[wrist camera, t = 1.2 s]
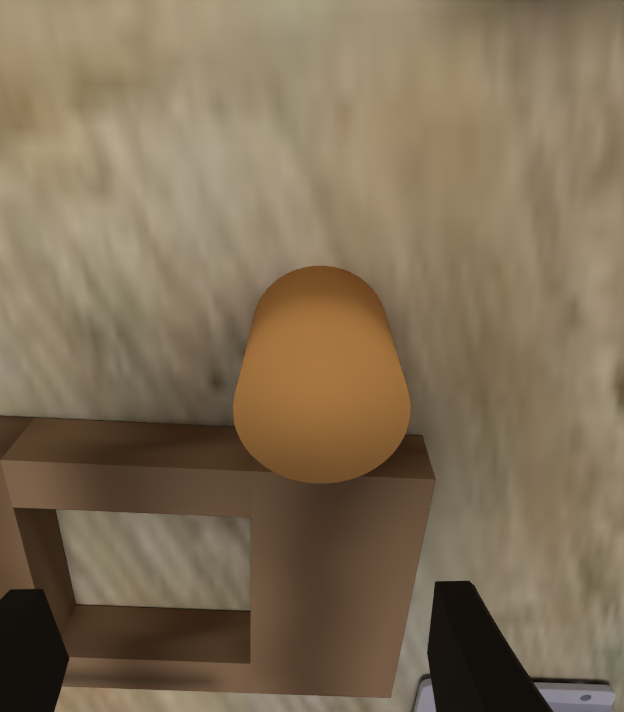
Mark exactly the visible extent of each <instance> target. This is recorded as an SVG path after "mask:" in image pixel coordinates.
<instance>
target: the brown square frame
mask: <svg viewBox="0 0 624 712" xmlns="http://www.w3.org/2000/svg"><path fill="white" fill-rule="evenodd" d="M435 480H436V479H435V476H434V473H433V469H432V466H431V463H430V459H429V456H428V453H427V449H426V446H425V443H424V439H423V436H417V435H405V436H404V438H403V440H402V441H401V443H400V445H399V446H398V448H397V449H396V450H395V451H394V453H393V454H392V455H391V456H390V457H389V458H388V459H387V460H386V461H385V462H383V463H382V464H381V465H379V466H378V467H376V468H375V469H373V470H371V471H370V472H368V473H366V474H364V475H361V476H359V477H356V478H353V479H350V480H346V481H342V482H336V483H326V484H316V483H306V482H301V481H296V480H292V479H289V478H286V477H283V476H281V475H279V474H277V473H275V472H273V471H271V470H269V469H268V468H266V467H265V466H263V465H262V464H261V463H259V462H258V461H257V460H256V459H255V458H254V457H253V456H252V455H251V454H250V453H249V452H248V450H247V449H246V448H245V446H244V445H243V443H242V441H241V440H240V438H239V435H238V433H237V431H236V427H224V426H202V425H181V424H160V423H138V422H117V421H95V420H74V419H52V418H31V417H9V416H0V599H1V598H2V597H3V596H4V595H5V594H6V593H7V592H8V591H9V590H10V589H43V590H44V593H45V595H46V598H47V601H48V603H49V606H50V608H51V611H52V614H53V616H54V619H55V622H56V624H57V627H58V630H59V632H60V635H61V638H62V640H63V643H64V645H65V648H66V651H67V653H68V656H69V662H68V666H67V669H66V673H65V676H64V680H63V683H62V686H65V687H93V688H122V689H150V690H178V691H206V692H235V693H263V694H291V695H319V696H348V697H376V698H391V694H392V689H393V684H394V679H395V674H396V669H397V665H398V660H399V655H400V650H401V645H402V640H403V635H404V631H405V626H406V621H407V616H408V611H409V606H410V601H411V596H412V592H413V587H414V582H415V577H416V572H417V567H418V562H419V558H420V553H421V548H422V543H423V538H424V533H425V528H426V524H427V519H428V514H429V509H430V504H431V499H432V494H433V489H434V485H435ZM55 509H63V510H87V511H110V512H133V513H157V514H180V515H203V516H227V517H250V518H251V612H243V611H218V610H192V609H166V608H140V607H115V606H89V605H76V604H75V600H74V595H73V591H72V586H71V581H70V577H69V572H68V568H67V563H66V559H65V554H64V549H63V545H62V540H61V536H60V531H59V527H58V522H57V517H56V513H55Z"/></svg>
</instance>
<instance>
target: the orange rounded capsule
mask: <svg viewBox="0 0 624 712" xmlns="http://www.w3.org/2000/svg"><path fill="white" fill-rule="evenodd" d="M410 411H411V407H410V397H409V393H408V389H407V385H406V382H405V379H404V375H403V372H402V369H401V365H400V362H399V358H398V355H397V352H396V348H395V345H394V342H393V338H392V335H391V332H390V328H389V325H388V322H387V318H386V315H385V311H384V308H383V306H382V303H381V301H380V300H379V298H378V296H377V294H376V293H375V292H374V291H373V289H372V288H371V287H370V286H369V285H368V284H367V283H366V282H365V281H363V280H362V279H361V278H359V277H358V276H356V275H354V274H352V273H350V272H348V271H345V270H343V269H339V268H335V267H328V266H312V267H305V268H301V269H298V270H295V271H292V272H290V273H288V274H286V275H284V276H283V277H281V278H279V279H278V280H277V281H275V282H274V283H273V284H272V285H271V286H270V287H269V288H268V289H267V290H266V292H265V293H264V294H263V296H262V297H261V299H260V301H259V303H258V305H257V308H256V310H255V314H254V318H253V322H252V326H251V330H250V334H249V338H248V342H247V347H246V351H245V355H244V359H243V363H242V367H241V371H240V375H239V379H238V383H237V387H236V391H235V396H234V400H233V418H234V423H235V427H236V431H237V433H238V435H239V438H240V440H241V441H242V443H243V445H244V446H245V448H246V449H247V450H248V452H249V453H250V454H251V455H252V456H253V457H254V458H255V459H256V460H257V461H258V462H259V463H261V464H262V465H263V466H265V467H266V468H268V469H269V470H271V471H273V472H275V473H277V474H279V475H281V476H283V477H286V478H289V479H292V480H296V481H301V482H306V483H316V484H326V483H336V482H342V481H346V480H350V479H353V478H356V477H359V476H361V475H364V474H366V473H368V472H370V471H371V470H373V469H375V468H376V467H378V466H379V465H381V464H382V463H383V462H385V461H386V460H387V459H388V458H389V457H390V456H391V455H392V454H393V453H394V451H395V450H396V449H397V448H398V446H399V445H400V443H401V441H402V440H403V438H404V436H405V433H406V431H407V428H408V424H409V420H410Z"/></svg>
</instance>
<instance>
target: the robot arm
mask: <svg viewBox="0 0 624 712" xmlns="http://www.w3.org/2000/svg"><path fill="white" fill-rule="evenodd" d="M427 654H428V661H429V668H430V675H431V678H430V679H425V680H423V681H422V682H421V683H420V686H419V690H418V694H417V698H416V702H415V706H414V711H413V712H615V711H614V709H613V707H612V704H613V702H614V700H615V698H616V694H615V692H614V690H613V688H612V687H611V686H609V685H599V684H572V683H544V682H533V681H532V680H531V678H530V677H529V675H528V674H527V672H526V671H525V669H524V668H523V666H522V665H521V663H520V662H519V660H518V658H517V657H516V655H515V654H514V652H513V651H512V649H511V647H510V646H509V644H508V643H507V641H506V639H505V638H504V636H503V635H502V633H501V631H500V630H499V628H498V626H497V625H496V623H495V621H494V620H493V618H492V616H491V615H490V613H489V611H488V609H487V608H486V606H485V604H484V602H483V601H482V599H481V597H480V595H479V593H478V592H477V590H476V588H475V586H474V585H473V584H472V583H471V582H470V581H437V582H435V588H434V597H433V606H432V615H431V624H430V633H429V642H428V651H427ZM68 662H69V656H68V653H67V651H66V648H65V645H64V643H63V640H62V638H61V635H60V632H59V630H58V627H57V624H56V622H55V619H54V616H53V614H52V611H51V608H50V606H49V603H48V601H47V598H46V595H45V593H44V590H43V589H10V590H9V591H8V592H7V593H6V594H5V595H4V596H3V597H2V598H1V599H0V712H54V710H55V707H56V703H57V700H58V697H59V694H60V690H61V687H62V683H63V680H64V676H65V673H66V669H67V666H68Z"/></svg>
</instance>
